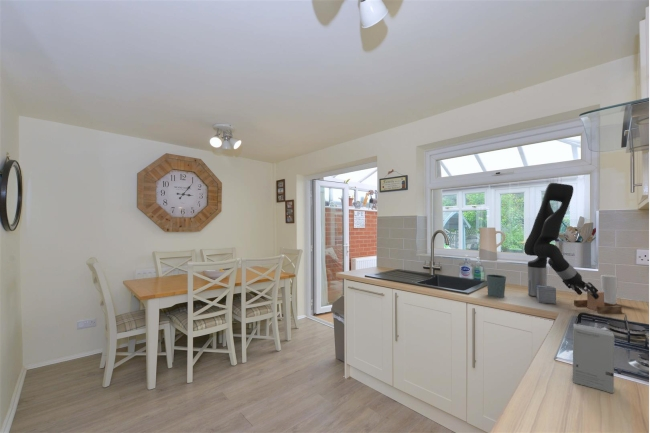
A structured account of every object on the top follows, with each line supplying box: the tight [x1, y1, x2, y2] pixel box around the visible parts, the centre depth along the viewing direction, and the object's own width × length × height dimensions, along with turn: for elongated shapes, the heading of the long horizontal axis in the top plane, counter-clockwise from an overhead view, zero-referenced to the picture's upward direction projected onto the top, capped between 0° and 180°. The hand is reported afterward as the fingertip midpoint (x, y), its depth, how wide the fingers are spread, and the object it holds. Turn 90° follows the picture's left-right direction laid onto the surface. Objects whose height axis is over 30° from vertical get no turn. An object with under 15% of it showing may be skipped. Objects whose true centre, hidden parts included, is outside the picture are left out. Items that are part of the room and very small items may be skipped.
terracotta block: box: [586, 289, 604, 311], centre depth 149 cm, size 4×4×9 cm
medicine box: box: [536, 285, 557, 305], centre depth 162 cm, size 8×4×9 cm, turn 65°
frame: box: [573, 299, 623, 314], centre depth 148 cm, size 12×13×3 cm
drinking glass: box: [600, 274, 619, 305], centre depth 160 cm, size 7×7×15 cm
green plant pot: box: [486, 274, 507, 298], centre depth 176 cm, size 10×10×12 cm
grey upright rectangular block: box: [572, 323, 615, 394], centre depth 79 cm, size 8×6×15 cm
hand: (588, 295), depth 148 cm, fingers open, 8 cm apart
